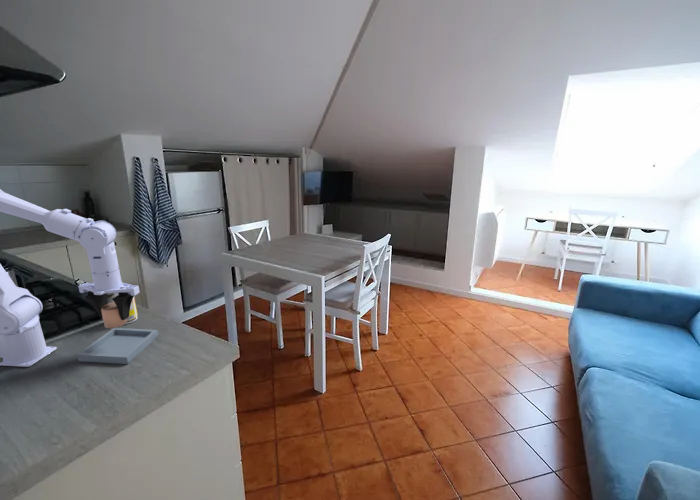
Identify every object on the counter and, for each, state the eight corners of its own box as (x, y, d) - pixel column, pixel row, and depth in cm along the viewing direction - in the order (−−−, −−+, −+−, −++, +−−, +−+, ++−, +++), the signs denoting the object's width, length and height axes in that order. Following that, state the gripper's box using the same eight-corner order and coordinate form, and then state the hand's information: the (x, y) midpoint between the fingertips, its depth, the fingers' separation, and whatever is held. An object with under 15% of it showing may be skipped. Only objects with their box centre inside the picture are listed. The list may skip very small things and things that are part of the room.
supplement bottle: (125, 315, 106) (119, 286, 103) (142, 316, 106) (137, 287, 103) (112, 324, 101) (106, 294, 97) (131, 325, 101) (125, 295, 97)
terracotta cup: (99, 327, 85) (95, 310, 83) (117, 315, 91) (114, 299, 90) (117, 328, 85) (114, 311, 83) (135, 316, 91) (132, 300, 89)
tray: (78, 361, 84) (76, 354, 83) (115, 333, 96) (114, 327, 95) (128, 364, 83) (126, 357, 83) (158, 336, 96) (157, 330, 95)
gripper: (63, 274, 79) (75, 323, 83) (122, 277, 79) (131, 327, 83) (87, 264, 86) (97, 310, 90) (141, 267, 85) (149, 313, 90)
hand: (115, 317), depth 87 cm, fingers closed on terracotta cup, 5 cm apart
